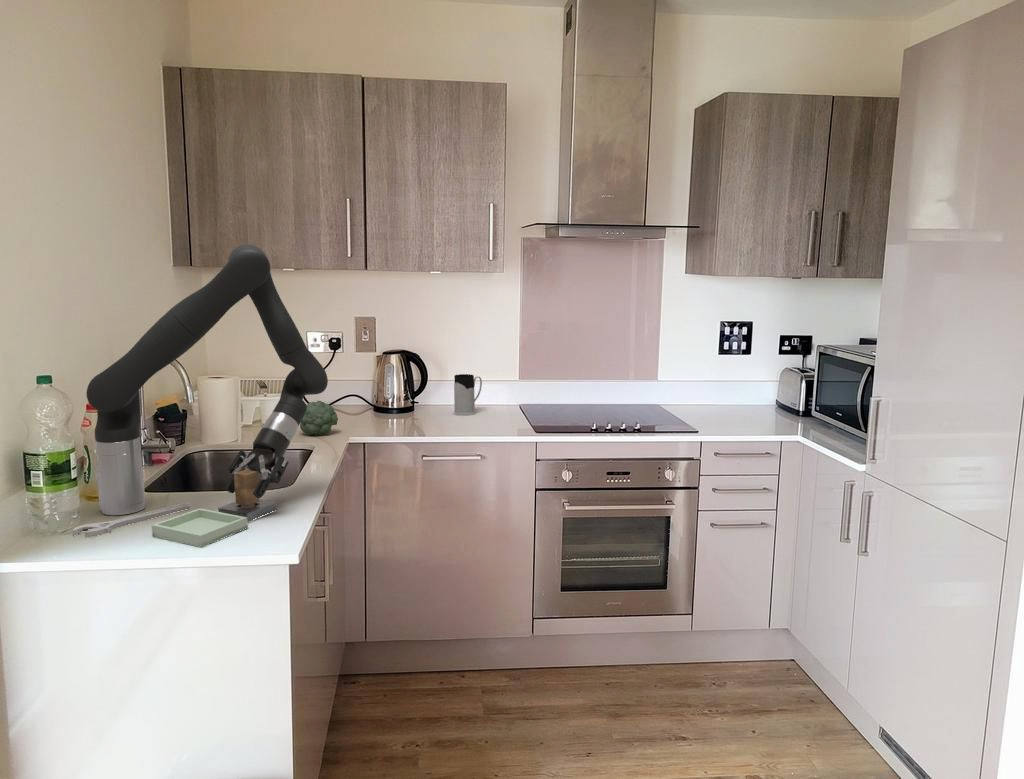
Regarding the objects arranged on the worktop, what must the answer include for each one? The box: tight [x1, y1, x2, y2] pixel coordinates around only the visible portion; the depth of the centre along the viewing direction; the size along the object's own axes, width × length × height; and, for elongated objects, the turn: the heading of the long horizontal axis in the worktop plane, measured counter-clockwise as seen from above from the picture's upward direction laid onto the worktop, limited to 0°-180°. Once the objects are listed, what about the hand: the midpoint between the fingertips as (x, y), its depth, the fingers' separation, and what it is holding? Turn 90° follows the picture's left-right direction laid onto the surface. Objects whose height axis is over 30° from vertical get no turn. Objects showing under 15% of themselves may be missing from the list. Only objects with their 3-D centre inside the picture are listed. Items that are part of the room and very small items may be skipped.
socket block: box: [217, 498, 278, 523], centre depth 174 cm, size 9×9×2 cm
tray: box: [151, 507, 249, 548], centre depth 162 cm, size 15×13×2 cm
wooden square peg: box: [234, 470, 260, 509], centre depth 174 cm, size 4×4×10 cm
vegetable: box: [299, 400, 339, 436], centre depth 259 cm, size 12×13×15 cm
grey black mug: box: [453, 373, 483, 417], centre depth 295 cm, size 9×14×15 cm, turn 140°
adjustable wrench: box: [72, 502, 191, 538], centre depth 169 cm, size 25×6×2 cm, turn 137°
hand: (242, 494), depth 173 cm, fingers open, 8 cm apart
